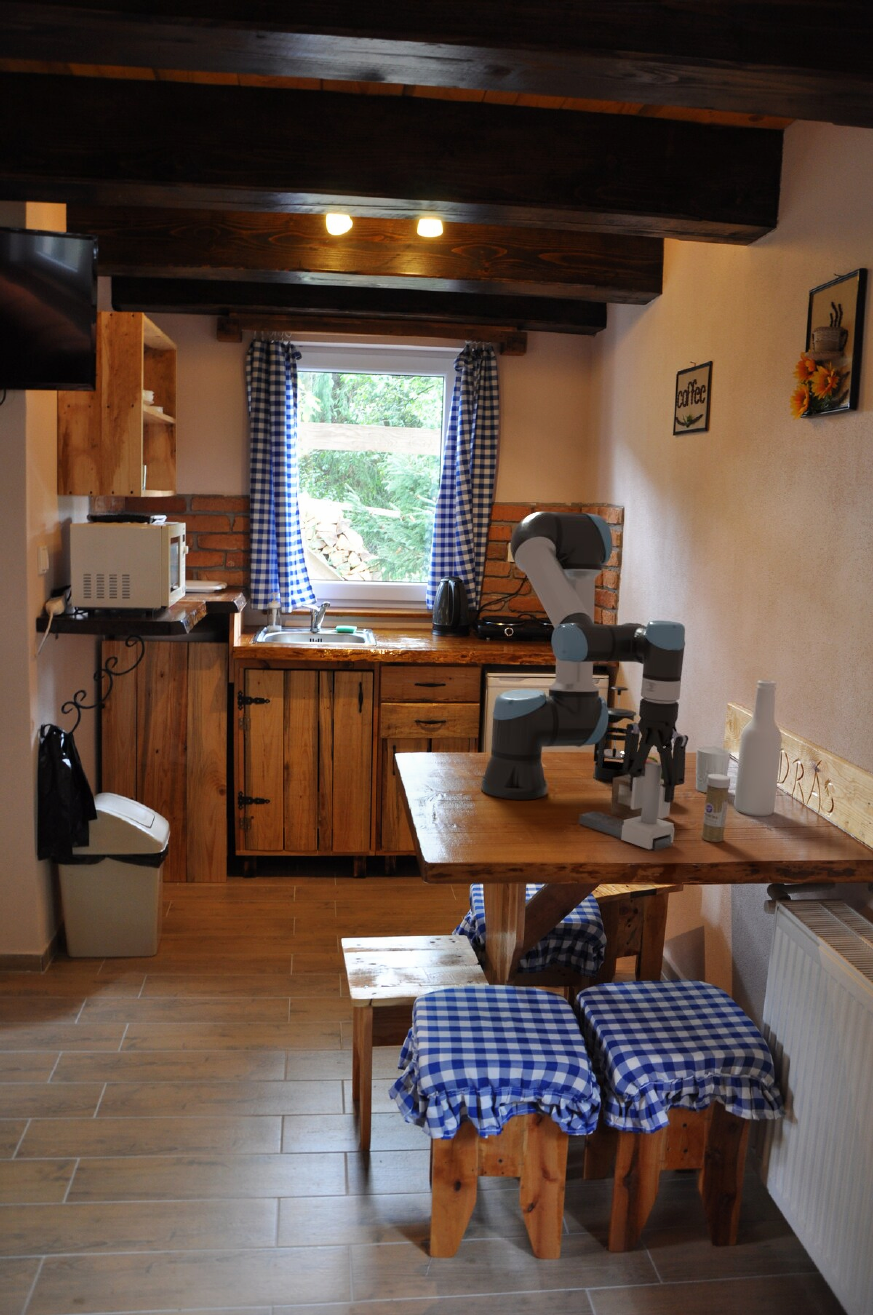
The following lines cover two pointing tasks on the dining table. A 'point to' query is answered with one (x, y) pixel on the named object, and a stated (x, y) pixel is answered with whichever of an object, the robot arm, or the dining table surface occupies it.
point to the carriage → (648, 813)
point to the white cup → (710, 764)
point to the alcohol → (759, 756)
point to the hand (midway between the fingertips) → (649, 812)
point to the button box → (624, 798)
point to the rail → (616, 827)
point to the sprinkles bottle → (715, 807)
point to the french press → (612, 768)
